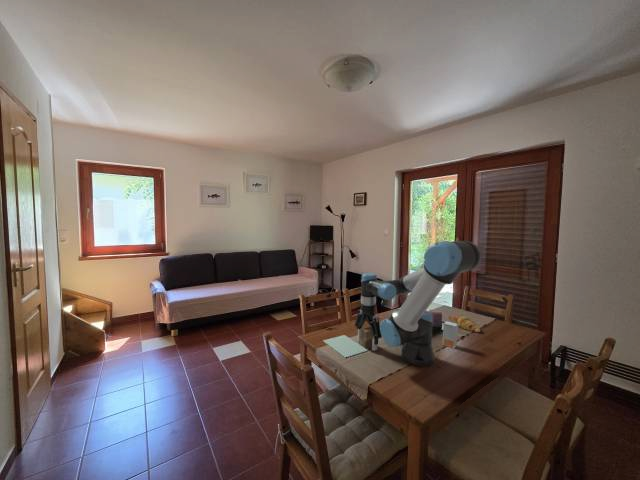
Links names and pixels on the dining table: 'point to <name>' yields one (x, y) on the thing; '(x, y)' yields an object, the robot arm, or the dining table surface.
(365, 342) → the walnut block
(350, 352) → the mat
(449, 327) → the skincare box
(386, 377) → the dining table surface
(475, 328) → the croissant
